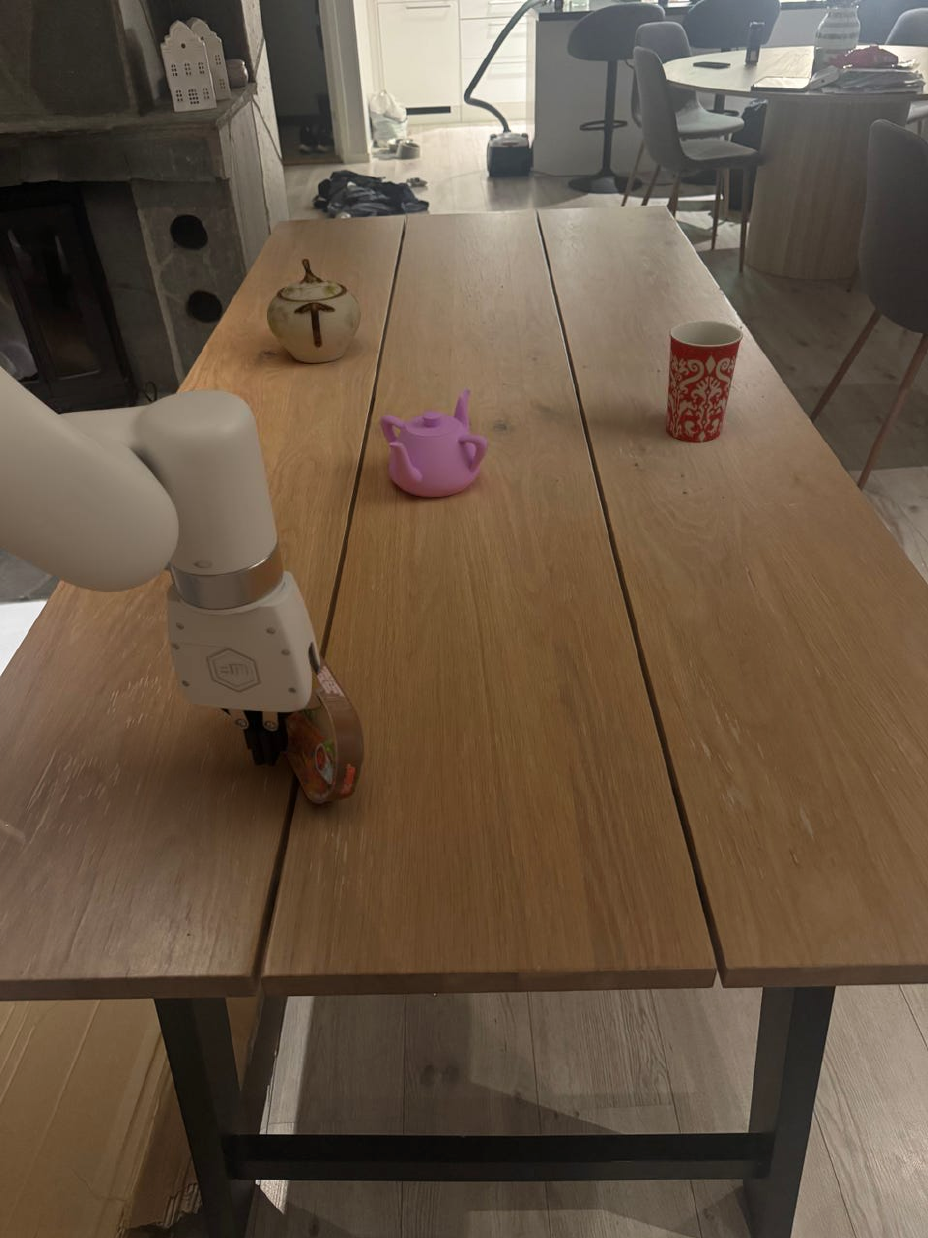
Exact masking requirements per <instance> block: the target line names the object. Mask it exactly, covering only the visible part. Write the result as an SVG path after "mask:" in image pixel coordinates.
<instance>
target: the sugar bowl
mask: <svg viewBox="0 0 928 1238" xmlns="http://www.w3.org/2000/svg"><path fill="white" fill-rule="evenodd" d="M301 264H302V266H303V268H304V273H305V274H304V277H303V279H301V280H297V281H295V282H292V283H290V284H289V285H287V286H285V287H282V288H281V289H279V290H278V291H277V292H276V294H275V296H273V298H272V299H271V301H270V302H269V304H268V307H267V310H266V320H267V325H268V327H269V330H270V332H271V333H272V334H273V336H274V337H275V338H276V340H277V341H278V342H279V343H280V345H282V346H283V347H284V348H285V349H286V350H287V351H288V352H289V353H290V355H291V356H292V357H293V358H294V359H295V360H296V361H299V362H303V363H308V364H309V363H310V364H312V363H313V364H316V363H317V364H318V363H327V362H332V361H336V360H338V359H340V358H341V357H343V356H344V354H345V353H346V350H347V349H348V347H349V345H350V344H351V342H352V340H353V339H354V337H355V335H356V333H357V332H358V329H359V326H360V323H361V319H362V311H361V306H360V304H359V302H358V299H357V298H356V297H355V295H354V294H353V293H352V292H351V291H350V290H348V289H347V287H346V286H345V285H343V284H341V283H338V282H334V281H332V280H328V279H322V278H321V277H318V276H316V275H315V274H314V273H313V271H312V269H311V263H310V260H309V259H308V258H303V259H302V260H301Z"/></svg>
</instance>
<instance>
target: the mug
mask: <svg viewBox="0 0 928 1238" xmlns="http://www.w3.org/2000/svg"><path fill="white" fill-rule="evenodd" d="M668 334H669V340H670V343H669V344H670V345H669V365H668V384H667V403H666V404H667V405H666V407H667V408H666V420H665V421H666V422H665V423H666V424H665V426H666V427H665V429H666V432H667V433H668V434H669V435H670V436H671V437H672V438H675V439H677V440H681V441H684V442H689V443H704V442H709V441H712V440H715V439H717V438H718V437H719V436H720V435H721V433H722V430H723V425H724V420H725V415H726V409H727V404H728V400H729V395H730V391H731V387H732V382H733V381H732V380H733V376H734V372H735V368H736V363H737V358H738V353H739V348H740V344H741V341H742V340H743V337H744V334H743V332H742V330H741V329H739V328H738V327H737V326H735V325H732V324H729V323H726V322H723V321H716V320H691V321H685V322H680V323H678V324H676V325H673V326H672V327H671V328H670V329H669V333H668Z"/></svg>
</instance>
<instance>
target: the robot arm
mask: <svg viewBox="0 0 928 1238" xmlns="http://www.w3.org/2000/svg"><path fill="white" fill-rule="evenodd" d="M269 489H270V488H269V484H268V478H267V474H266V468H265V462H264V457H263V451H262V447H261V440H260V436H259V430H258V426H257V421H256V417H255V415H254V413H253V411H252V409H251V407H250V406H249V405H248V403H247V402H246V401H245V400H243V398H241V397H240V396H238V395H236V394H234V393H231V392H228V391H225V390H220V389H193V390H185V391H182V392H176V393H172V394H170V395H167V396H164V397H161V398H159V399H157V400H155V401H154V402H152V403H150V404H146V405H139V406H131V407H122V408H121V407H120V408H119V407H118V408H110V409H99V410H98V409H97V410H96V409H95V410H83V411H74V412H65V413H60V414H58V413H57V412H55V411H54V410H53V409H52V408H50V407H49V406H48V405H47V404H46V403H44V402H43V401H42V400H41V399H39V398H38V397H37V396H36V395H34V394H33V393H32V392H31V391H30V390H29V389H27V388H26V387H25V386H23V385H22V384H21V383H20V382H19V381H18V380H16V378H14V377H13V376H12V375H11V374H10V373H9V372H7V370H6V369H5V368H3V367H2V366H1V365H0V548H1V549H2V550H4V551H6V552H8V553H10V554H12V555H14V556H16V557H17V558H19V559H21V560H23V561H25V562H26V563H29V564H30V565H31V566H34V567H35V568H37V569H39V570H41V571H43V572H45V573H47V574H48V575H50V576H52V577H54V578H56V579H58V580H59V581H62V582H64V583H66V584H69V585H71V586H74V587H76V588H80V589H84V590H88V591H91V592H98V593H120V592H125V591H130V590H134V589H136V588H138V587H141V586H143V585H146V584H147V583H149V582H150V581H152V580H153V579H155V578H157V576H158V575H159V574H161V572H163V571H167V572H169V573H170V577H171V581H172V583H171V584H170V586H169V587H168V589H167V592H166V615H167V616H166V617H167V619H166V620H167V632H168V633H167V634H168V641H169V647H170V654H171V660H172V665H173V669H174V673H175V678H176V682H177V686H178V689H179V691H180V694H181V696H182V697H183V699H184V700H185V701H187V702H188V703H190V704H192V705H195V706H198V707H203V708H204V707H205V708H217V709H220V710H222V711H223V712H224V713H226V714H227V715H229V716H230V717H231V720H232V721H233V724H234V725H235V726H236V727H237V728H239V729H240V730H242V731H243V735H244V736H243V737H244V740H245V744H246V748H247V750H249V751H251V756H252V759H253V763H254V766H260V767H262V766H264V765H266V766H267V767H272V768H274V767H276V764H277V763H278V760H279V759H280V755H281V753H285V751H286V748H287V746H288V733H287V728H286V723H285V719H286V718H288V717H289V716H290V715H291V714H292V713H294V712H295V711H299V710H300V711H301V710H309V709H317V708H320V707H321V703H322V702H321V700H320V698H319V697H318V695H319V694H321V693H322V692H323V691H324V690H323V688H322V686H321V684H320V682H319V679H318V677H317V676H318V675H319V673H320V658H319V654H320V652H319V649H318V644H317V640H316V635H315V632H314V627H313V624H312V621H311V617H310V615H309V611H308V608H307V606H306V603H305V600H304V598H303V595H302V593H301V591H300V588H299V586H298V584H297V582H296V579H295V578H294V576H293V574H292V572H291V571H288V570H284V566H283V565H284V564H283V559H282V554H281V547H280V543H279V538H278V532H277V526H276V522H275V516H274V510H273V505H272V500H271V494H270V490H269Z"/></svg>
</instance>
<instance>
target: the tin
mask: <svg viewBox="0 0 928 1238" xmlns="http://www.w3.org/2000/svg"><path fill="white" fill-rule="evenodd" d="M319 658H320V673H319V675H318V676H317V677H318V679H319V682H320V684H321V686H322V688H323V690H324V691H323V692H322V693H321V694H319V695H318V697H319V698H320V700H321V702H322V703H321V707H320V708H317V709H309V710H301V711H300V710H299V711H295V712H294V713H292V714H291V715H290V716H289V717H288V718H286V719H285V723H286V728H287V733H288V746H287V748H286V751H285V752H284V753H285V755H286V758H287V760H288V761H289V763H290V766H291V767H292V769H293V772H294V774H295V775H296V778H297V780H298V782H299V783H300V786H301V788H302V790H303V791H304V794H305V795H306V797H307V798H308V799H309V800H310V801H311V802H313V803H314V804H324V803H325V802H332V801H333V802H334V801H340V800H344V799H348V798H350V797H351V796H352V795H353V794H354V793H355V792H356V788H357V786H358V782H359V780H360V775H361V770H362V766H363V762H364V756H365V747H364V746H365V745H364V744H365V743H364V735H363V734H364V733H363V729H362V725H361V722H360V718H359V715H358V713H357V710H356V707H354V705H353V703H352V701H351V700H350V698H349V696H348V695H347V694H346V692H345V690H344V689H343V687H342V686H341V684H340V682H339V681H338V678H337V677H336V676H335V674H334V673H333V671H332V669H331V668H330V666H329V665H328V663H327V662H326V660H325V659H324V657H323V656H322V655H321V654H320V653H319Z"/></svg>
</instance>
